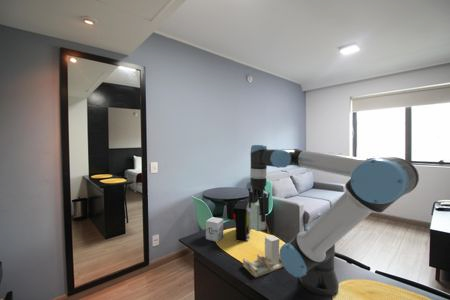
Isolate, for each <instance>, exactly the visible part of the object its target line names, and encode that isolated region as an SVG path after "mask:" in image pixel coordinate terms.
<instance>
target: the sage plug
mask: <svg viewBox="0 0 450 300" xmlns="http://www.w3.org/2000/svg"><path fill="white" fill-rule="evenodd" d="M259 214H260V205H259V201H258V202H254V203H251V230H252V229H253V230H254V231H256V232H260V231H263V230H266V222H267V219H266V217H267V214H266V215H265V228H261V229H260V228H259Z"/></svg>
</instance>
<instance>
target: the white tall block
mask: <svg viewBox="0 0 450 300" xmlns="http://www.w3.org/2000/svg"><path fill="white" fill-rule="evenodd" d="M279 254H280V238H279V237H276V236H275V235H274V234H273V235H271V234H270V235H267V236H264V257H265V258H266V259H267V260H269V261H270V262H271V263H273V265H275V264H277V263H279Z"/></svg>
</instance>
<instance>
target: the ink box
mask: <svg viewBox="0 0 450 300" xmlns="http://www.w3.org/2000/svg"><path fill="white" fill-rule="evenodd" d="M223 237H224V218H221V217H214V216H211V217H210V218H208V219H207V220H205V240H208V241H213V242H216V243H217V242H219V241H220V240H221V239H222V238H223Z"/></svg>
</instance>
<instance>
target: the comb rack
mask: <svg viewBox="0 0 450 300" xmlns="http://www.w3.org/2000/svg"><path fill="white" fill-rule="evenodd" d="M256 256H257V257H256V258H257V259H256V260H253V261H249V260H248V259H247V258H243V259H242V267H244V268H245V269H246V271H248V272H249V274H251V275H252V276H253V277H255V278H260V277H262V276H263V275H265V274H268V273H271V272H273V271H274V272H275V271H276V270H279V269H281V268H285V267H284V266H283V264H282V262H281V259H280V253H279V263H277V264H275V265H273V263H271V262H270V261H269V260H267V259H266V258H265V256H264V255H262V254H260V253H257V255H256Z"/></svg>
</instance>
